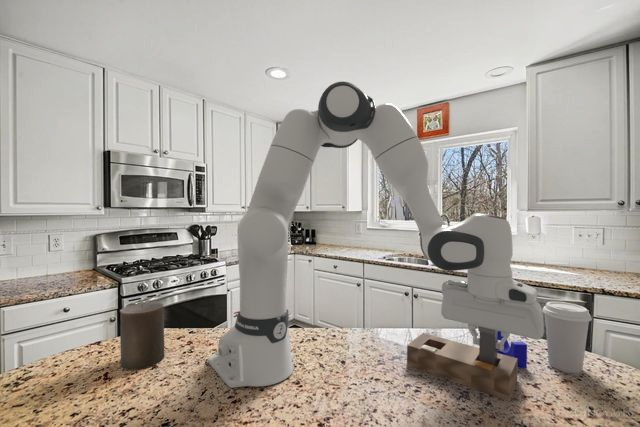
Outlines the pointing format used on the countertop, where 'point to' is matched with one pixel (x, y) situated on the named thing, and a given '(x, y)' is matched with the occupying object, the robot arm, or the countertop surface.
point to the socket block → (463, 365)
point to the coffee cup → (566, 335)
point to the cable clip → (515, 351)
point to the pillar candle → (142, 335)
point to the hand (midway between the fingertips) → (488, 346)
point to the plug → (487, 345)
